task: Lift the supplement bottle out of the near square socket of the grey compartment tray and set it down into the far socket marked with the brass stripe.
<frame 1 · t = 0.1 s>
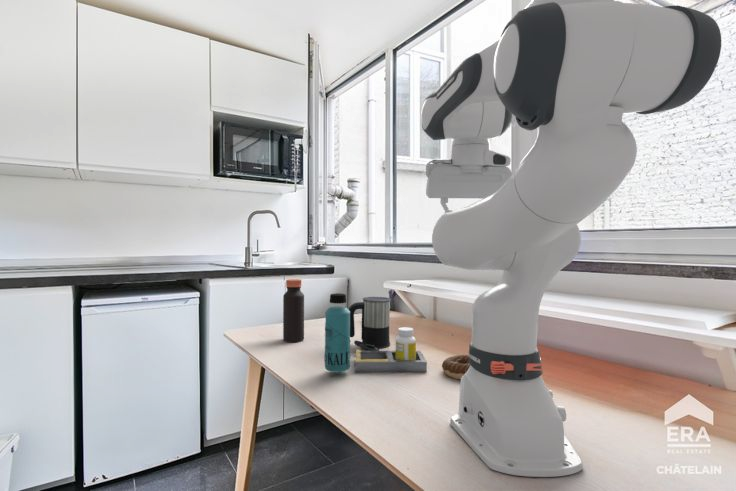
hand: (467, 217, 91), 39 cm above the table, tool pointing down, fingers open, 8 cm apart
grey compartment tray: (389, 365, 101), on the table
donut: (463, 375, 94), on the table
vinegar: (293, 340, 126), on the table
beverage bottle: (337, 374, 94), on the table
milk frother: (372, 348, 117), on the table
supplement bottle: (405, 366, 101), resting in grey compartment tray
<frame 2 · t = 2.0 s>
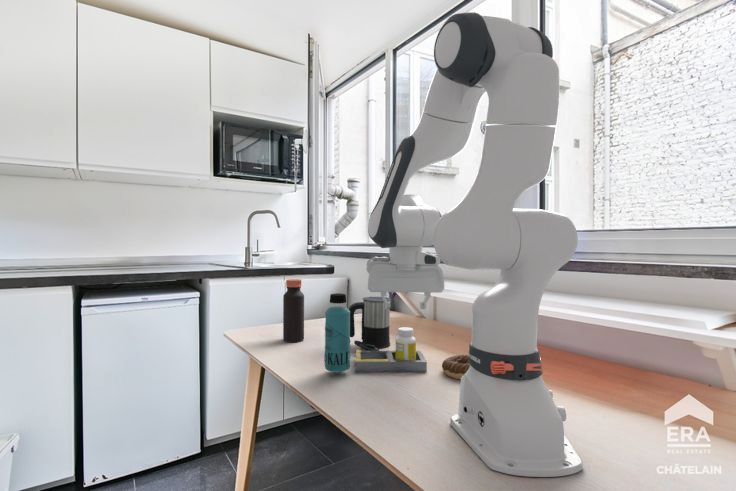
hand: (405, 308, 101), 15 cm above the table, tool pointing down, fingers open, 8 cm apart
nothing on the table moved.
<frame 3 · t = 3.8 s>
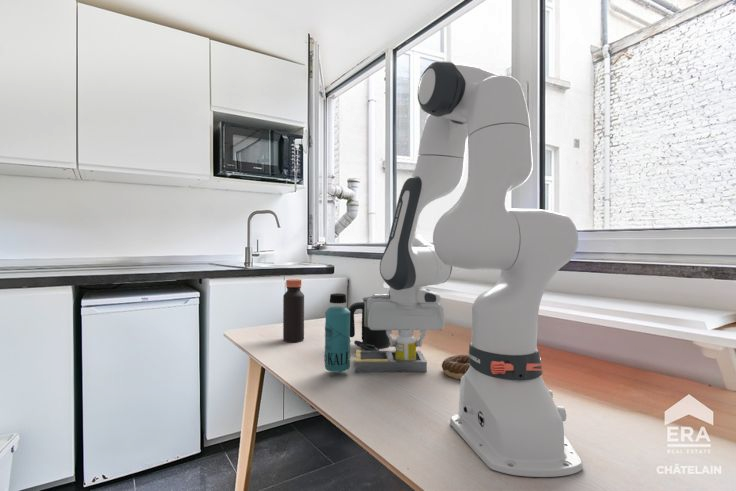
hand: (405, 346, 101), 5 cm above the table, tool pointing down, fingers closed on supplement bottle, 5 cm apart
supplement bottle: (405, 366, 101), resting in grey compartment tray, touching gripper
everything else where it was.
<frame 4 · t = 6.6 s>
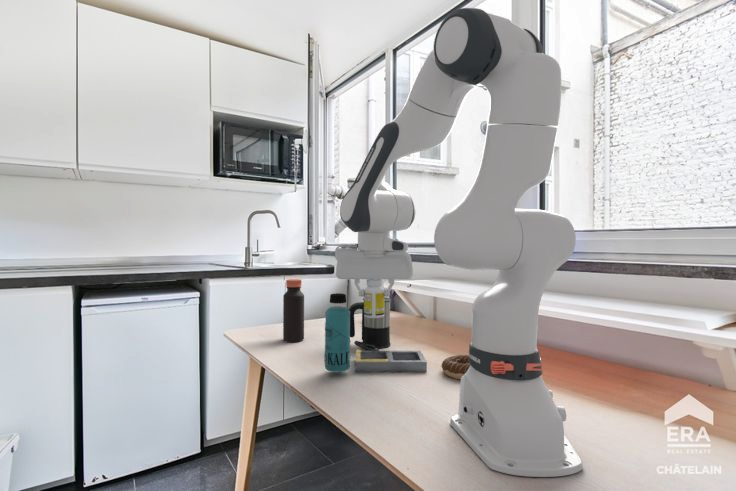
hand: (374, 296, 100), 18 cm above the table, tool pointing down, fingers closed on supplement bottle, 5 cm apart
supplement bottle: (374, 317, 100), point 13 cm above the table, touching gripper
everything else where it was.
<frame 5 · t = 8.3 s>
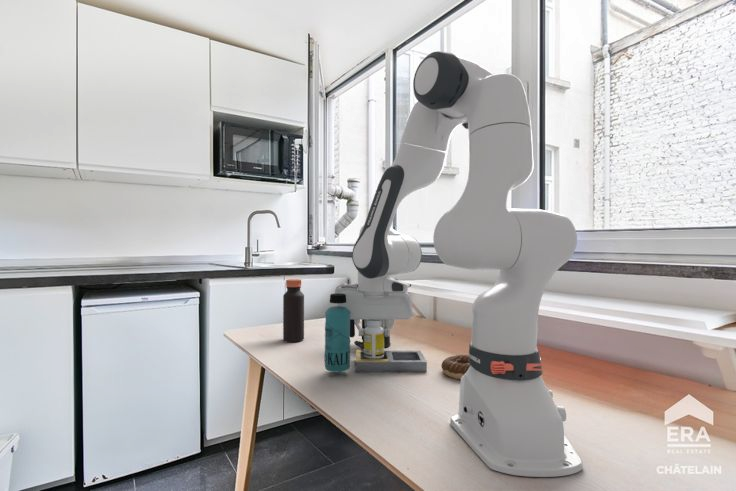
hand: (374, 335, 101), 8 cm above the table, tool pointing down, fingers closed on supplement bottle, 5 cm apart
supplement bottle: (374, 357, 101), point 2 cm above the table, touching gripper
everything else where it was.
when the fingers open (7 cm above the table, at t = 9.5 s): supplement bottle stays where it is, resting in grey compartment tray.
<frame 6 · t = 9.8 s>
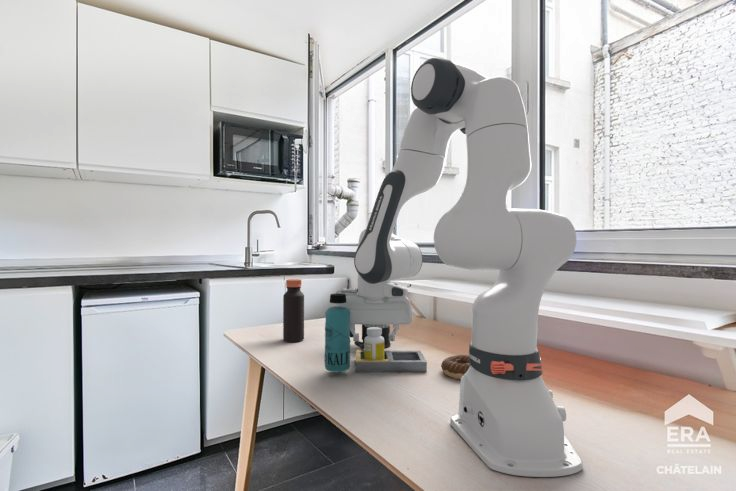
hand: (373, 340, 100), 7 cm above the table, tool pointing down, fingers open, 8 cm apart
supplement bottle: (374, 366, 101), resting in grey compartment tray
everything else where it was.
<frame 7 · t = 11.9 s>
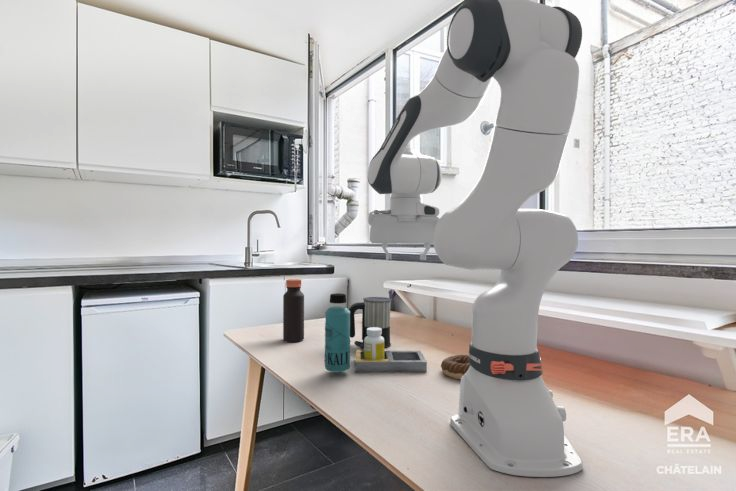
hand: (406, 260, 104), 28 cm above the table, tool pointing down, fingers open, 8 cm apart
nothing on the table moved.
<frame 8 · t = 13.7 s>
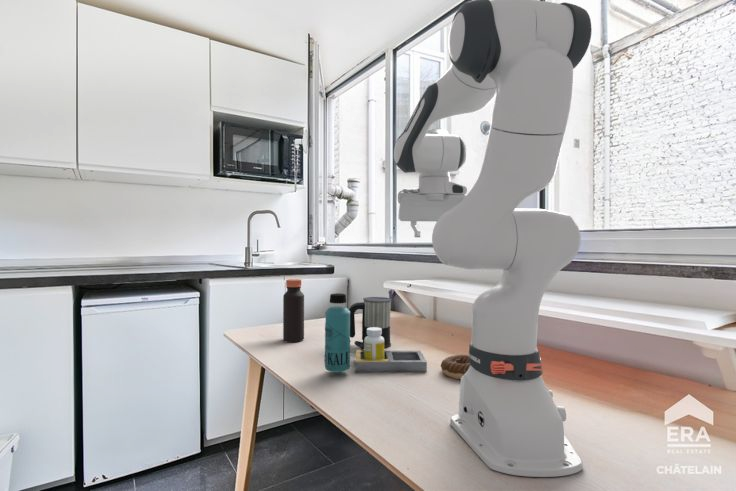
hand: (433, 237, 108), 34 cm above the table, tool pointing down, fingers open, 8 cm apart
nothing on the table moved.
at the end: supplement bottle 0.1 cm from the target spot, resting in grey compartment tray; supplement bottle tilted 0°; the gripper is holding nothing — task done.
